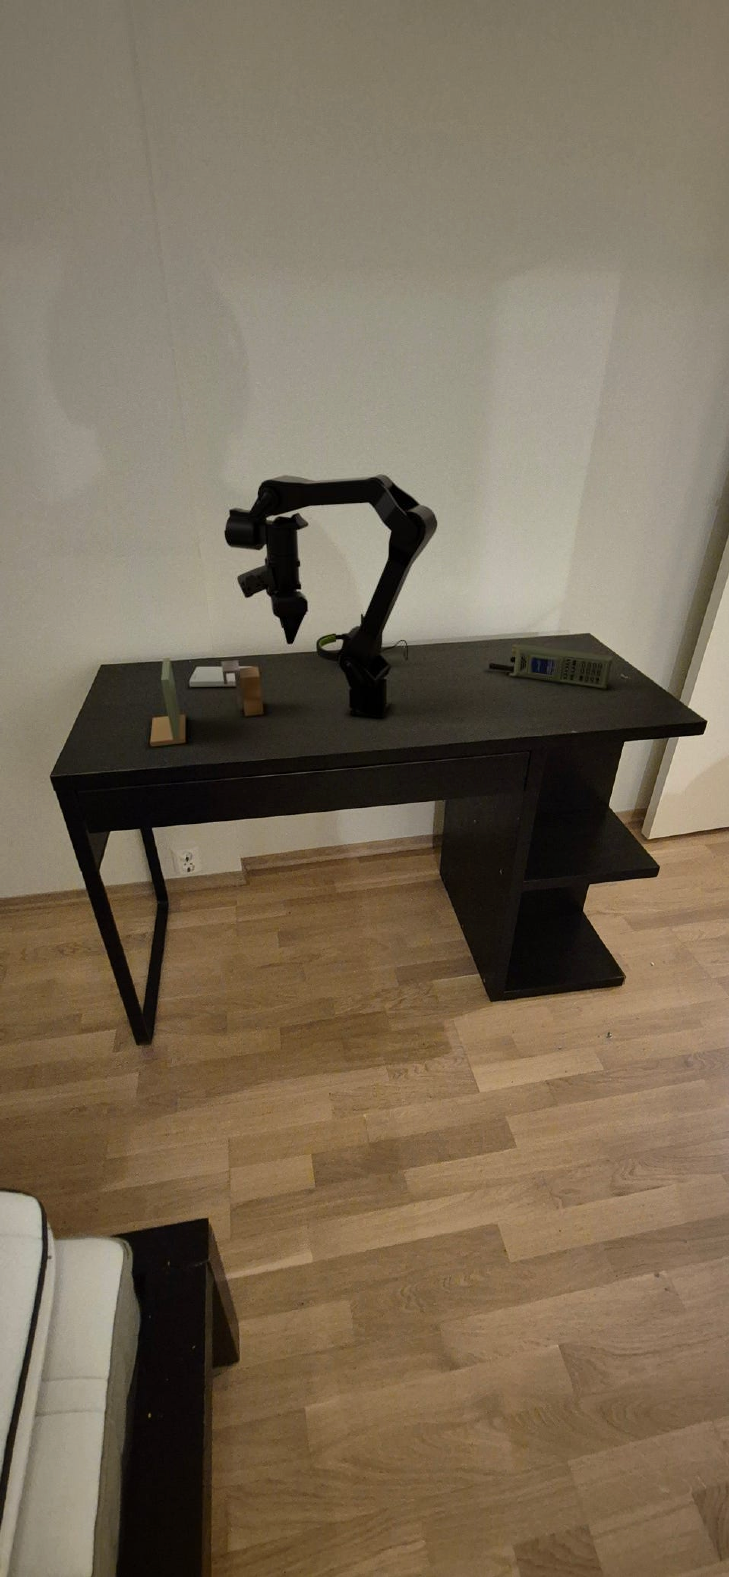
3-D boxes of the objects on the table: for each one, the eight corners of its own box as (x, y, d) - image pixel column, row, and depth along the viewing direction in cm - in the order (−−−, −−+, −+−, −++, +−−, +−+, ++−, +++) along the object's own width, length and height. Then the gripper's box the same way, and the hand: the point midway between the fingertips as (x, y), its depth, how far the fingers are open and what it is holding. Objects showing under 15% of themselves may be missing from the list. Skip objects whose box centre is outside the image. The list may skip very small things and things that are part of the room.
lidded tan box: (261, 703, 133) (256, 658, 128) (263, 714, 129) (258, 667, 124) (227, 707, 132) (221, 661, 126) (228, 718, 128) (222, 671, 122)
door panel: (185, 719, 127) (174, 657, 121) (185, 743, 119) (173, 678, 112) (153, 722, 126) (141, 660, 120) (151, 746, 118) (137, 682, 111)
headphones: (409, 629, 141) (316, 633, 140) (408, 671, 146) (318, 675, 145) (399, 606, 154) (314, 610, 153) (398, 645, 160) (316, 649, 158)
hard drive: (188, 680, 139) (247, 679, 139) (196, 666, 146) (252, 665, 146) (190, 688, 140) (248, 687, 140) (198, 673, 147) (253, 672, 147)
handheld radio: (605, 690, 136) (486, 674, 144) (607, 685, 139) (490, 669, 147) (612, 659, 133) (489, 644, 141) (613, 654, 135) (493, 640, 143)
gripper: (234, 543, 126) (242, 622, 134) (240, 568, 110) (248, 656, 119) (292, 540, 128) (296, 619, 136) (306, 565, 113) (309, 651, 121)
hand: (287, 635), depth 128 cm, fingers open, 9 cm apart
